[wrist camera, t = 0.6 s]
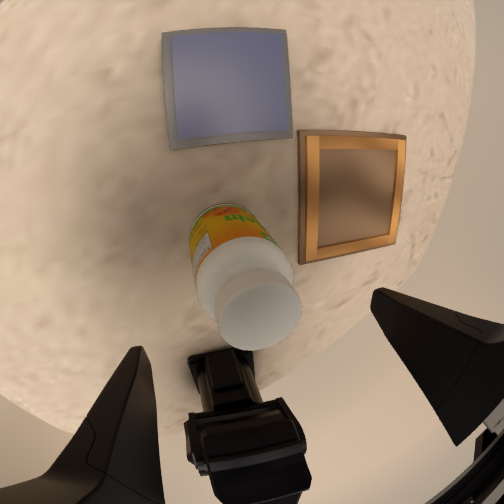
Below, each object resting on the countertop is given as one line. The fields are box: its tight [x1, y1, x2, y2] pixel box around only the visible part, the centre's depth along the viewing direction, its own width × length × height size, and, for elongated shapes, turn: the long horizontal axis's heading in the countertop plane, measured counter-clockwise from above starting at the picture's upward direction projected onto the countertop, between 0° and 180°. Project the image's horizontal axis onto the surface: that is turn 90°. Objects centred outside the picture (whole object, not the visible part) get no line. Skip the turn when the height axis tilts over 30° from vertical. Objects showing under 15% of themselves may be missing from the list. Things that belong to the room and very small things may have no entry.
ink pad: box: [162, 27, 293, 151], centre depth 15 cm, size 8×8×2 cm
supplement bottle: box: [189, 204, 302, 351], centre depth 16 cm, size 5×5×10 cm
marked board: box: [298, 130, 406, 265], centre depth 22 cm, size 11×11×1 cm
